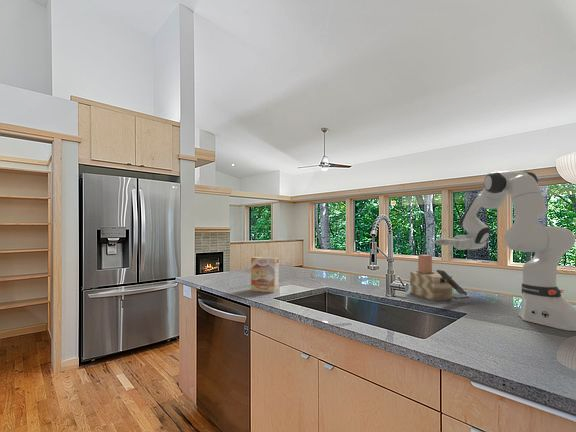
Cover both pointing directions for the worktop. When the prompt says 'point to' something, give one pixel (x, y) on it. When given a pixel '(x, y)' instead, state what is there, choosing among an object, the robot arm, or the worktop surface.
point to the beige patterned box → (430, 286)
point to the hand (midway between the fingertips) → (442, 242)
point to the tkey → (451, 282)
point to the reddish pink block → (425, 263)
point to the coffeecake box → (264, 274)
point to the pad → (459, 296)
